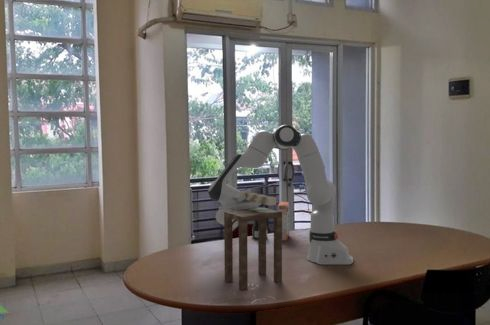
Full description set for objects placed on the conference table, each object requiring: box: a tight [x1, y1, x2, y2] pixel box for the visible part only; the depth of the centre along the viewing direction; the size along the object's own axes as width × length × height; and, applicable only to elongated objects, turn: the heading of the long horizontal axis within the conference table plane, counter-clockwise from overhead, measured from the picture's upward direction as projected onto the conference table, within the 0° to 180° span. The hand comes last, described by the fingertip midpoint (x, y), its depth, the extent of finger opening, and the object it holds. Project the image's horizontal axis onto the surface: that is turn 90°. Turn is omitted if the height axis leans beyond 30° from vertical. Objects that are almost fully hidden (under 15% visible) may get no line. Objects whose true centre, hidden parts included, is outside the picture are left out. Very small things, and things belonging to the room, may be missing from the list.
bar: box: [241, 190, 277, 207], centre depth 197 cm, size 22×4×3 cm, turn 33°
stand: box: [223, 206, 283, 292], centre depth 194 cm, size 14×20×30 cm
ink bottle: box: [251, 220, 268, 240], centre depth 272 cm, size 10×9×12 cm
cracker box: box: [277, 201, 291, 242], centre depth 271 cm, size 14×6×21 cm, turn 168°
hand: (250, 195), depth 202 cm, fingers closed on bar, 3 cm apart
